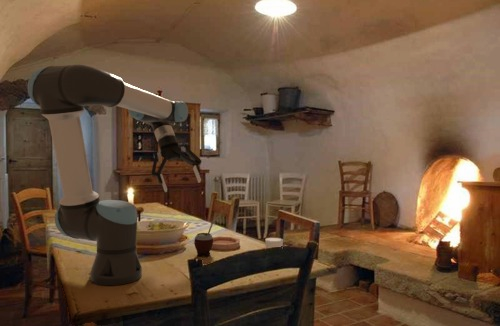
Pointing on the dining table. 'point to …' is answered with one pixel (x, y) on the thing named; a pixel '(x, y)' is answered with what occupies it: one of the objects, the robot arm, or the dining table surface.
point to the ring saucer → (225, 243)
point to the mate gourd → (204, 242)
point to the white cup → (273, 242)
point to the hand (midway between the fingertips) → (183, 186)
